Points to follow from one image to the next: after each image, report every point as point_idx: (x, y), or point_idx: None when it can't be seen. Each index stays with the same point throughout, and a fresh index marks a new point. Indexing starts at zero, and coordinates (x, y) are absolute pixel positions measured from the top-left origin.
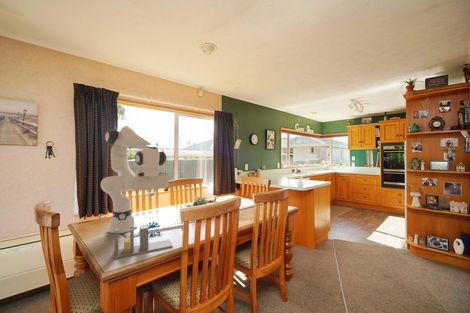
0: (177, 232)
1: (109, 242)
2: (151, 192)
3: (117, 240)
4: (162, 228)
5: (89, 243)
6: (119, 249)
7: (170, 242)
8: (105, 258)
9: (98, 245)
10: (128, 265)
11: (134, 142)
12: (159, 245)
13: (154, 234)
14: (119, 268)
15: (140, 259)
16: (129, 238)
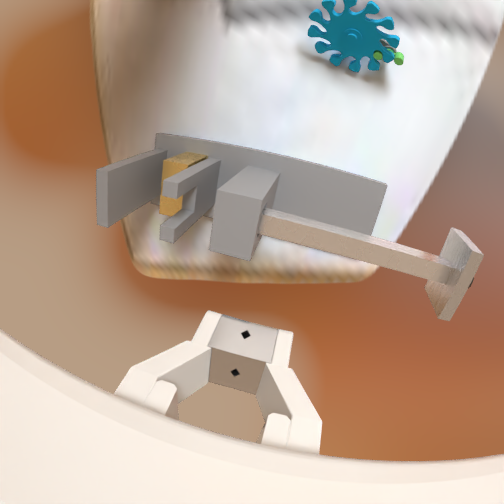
0: (461, 118)
1: (156, 28)
2: (244, 358)
3: (131, 211)
4: (339, 253)
5: (102, 10)
6: (171, 142)
7: (373, 222)
8: None
9: (121, 41)
10: (189, 270)
11: None
12: (321, 217)
13: (354, 68)
14: (166, 268)
15: (228, 260)
16: None
